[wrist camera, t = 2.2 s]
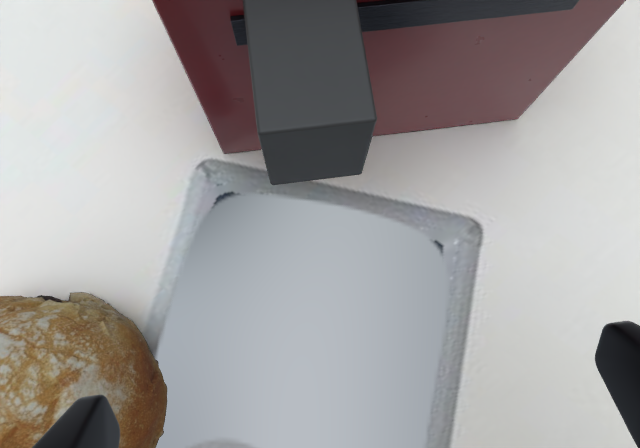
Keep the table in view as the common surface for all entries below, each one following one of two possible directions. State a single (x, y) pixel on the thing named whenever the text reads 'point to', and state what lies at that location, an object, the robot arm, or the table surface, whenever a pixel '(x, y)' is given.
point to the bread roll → (75, 368)
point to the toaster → (399, 58)
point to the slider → (309, 87)
